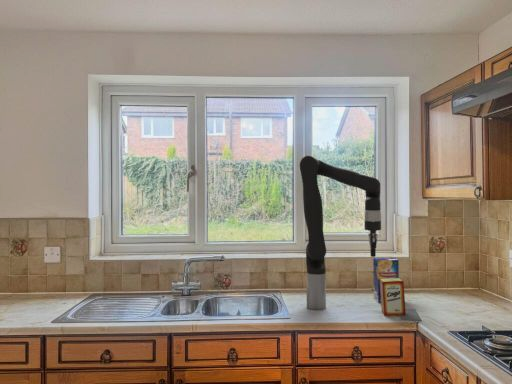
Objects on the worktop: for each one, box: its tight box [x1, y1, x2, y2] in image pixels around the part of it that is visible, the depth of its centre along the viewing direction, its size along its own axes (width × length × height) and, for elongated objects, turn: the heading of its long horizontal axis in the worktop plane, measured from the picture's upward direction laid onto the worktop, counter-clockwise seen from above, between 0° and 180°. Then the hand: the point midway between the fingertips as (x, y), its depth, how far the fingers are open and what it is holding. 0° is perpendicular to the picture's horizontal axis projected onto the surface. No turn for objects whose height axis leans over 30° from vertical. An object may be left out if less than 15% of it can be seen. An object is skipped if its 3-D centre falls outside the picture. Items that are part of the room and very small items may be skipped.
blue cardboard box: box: [372, 257, 400, 304], centre depth 215 cm, size 7×11×22 cm, turn 94°
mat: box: [399, 307, 423, 322], centre depth 191 cm, size 8×18×1 cm, turn 168°
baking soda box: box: [380, 278, 406, 316], centre depth 192 cm, size 10×6×16 cm
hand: (373, 256), depth 194 cm, fingers closed
